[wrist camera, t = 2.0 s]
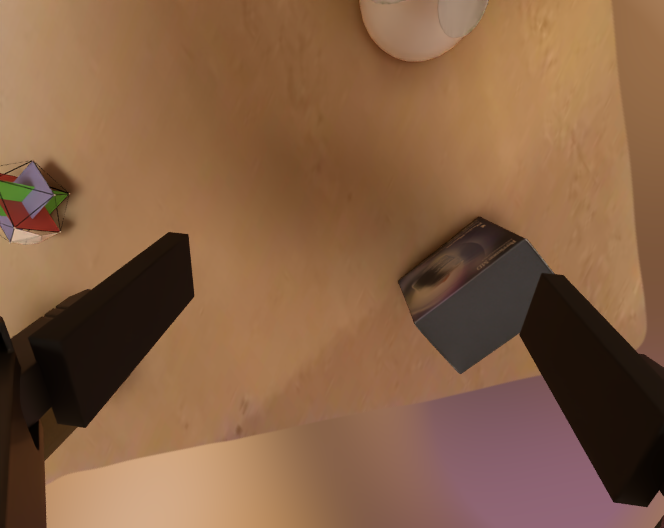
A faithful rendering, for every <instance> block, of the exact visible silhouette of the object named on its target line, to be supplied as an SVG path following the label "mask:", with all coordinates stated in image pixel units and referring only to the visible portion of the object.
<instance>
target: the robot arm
mask: <svg viewBox="0 0 664 528" xmlns="http://www.w3.org/2000/svg"><path fill="white" fill-rule="evenodd" d="M193 297H194V287H193V277H192V267H191V257H190V247H189V237H188V234H182V233H172V232H168V233H167V234H166V235H164V236H163V237H162V238H160V239H159V240H158V241H156V242H155V243H154V244H152V245H151V246H150V247H148V248H147V249H145V250H144V251H143V252H141V253H140V254H139V255H137V256H136V257H135V258H133V259H132V260H131V261H129V262H128V263H127V264H125V265H124V266H123V267H121V268H120V269H119V270H117V271H116V272H115V273H113V274H112V275H111V276H109V277H108V278H107V279H105V280H104V281H103V282H101V283H100V284H99V285H97V286H96V287H95V288H93V289H92V290H90V289H87V290H84V291H82V292H80V293H77V294H75V295H73V296H70V297H68V298H67V299H66V300H64V301H63V302H61V303H60V304H59V305H57V306H56V308H55V309H54V308H53V309H52V310H50V311H49V312H48V313H46V314H45V316H44V317H41V318H39V319H38V320H36V321H35V322H34V323H32V324H31V325H29V326H28V327H27V328H25V329H24V330H22V331H21V332H20V333H18V334H17V335H15V336H14V337H13V338H11V339H10V336H9V334H8V331H7V328H6V325H5V323H4V320H3V318H2V317H1V316H0V528H46V497H45V465H44V434H43V426H42V423H41V421H40V418H41V417H42V416H43V415H44V414H45V413H46V412H47V411H48V410H49V409H50V408H51V407H52V410H53V413H54V416H55V419H56V421H57V424H62V425H69V426H76V427H83V428H86V427H87V426H88V424H89V423H90V422H91V421H92V419H93V418H94V417H95V416H96V415H97V413H98V412H99V411H100V410H101V409H102V407H103V406H104V405H105V404H106V403H107V401H108V400H109V399H110V398H111V397H112V395H113V394H114V393H115V392H116V390H117V389H118V388H119V387H120V386H121V384H122V383H123V382H124V381H125V380H126V378H127V377H128V376H129V375H130V374H131V372H132V371H133V370H134V369H135V368H136V366H137V365H138V364H139V363H140V361H141V360H142V359H143V358H144V357H145V355H146V354H147V353H148V352H149V351H150V349H151V348H152V347H153V346H154V345H155V343H156V342H157V341H158V340H159V339H160V337H161V336H162V335H163V334H164V332H165V331H166V330H167V329H168V328H169V326H170V325H171V324H172V323H173V322H174V320H175V319H176V318H177V317H178V316H179V314H180V313H181V312H182V311H183V310H184V308H185V307H186V306H187V305H188V303H189V302H190V301H191V300H192V299H193ZM519 335H520V337H521V339H522V340H523V342H524V344H525V346H526V348H527V349H528V351H529V353H530V355H531V356H532V358H533V360H534V362H535V364H536V365H537V367H538V369H539V371H540V372H541V374H542V376H543V378H544V380H545V381H546V383H547V385H548V386H549V388H550V390H551V392H552V393H553V395H554V397H555V399H556V401H557V403H558V404H559V406H560V408H561V410H562V412H563V413H564V415H565V417H566V419H567V420H568V422H569V424H570V425H571V428H572V429H573V431H574V433H575V435H576V436H577V438H578V440H579V442H580V444H581V445H582V447H583V449H584V451H585V452H586V454H587V456H588V457H589V459H590V461H591V463H592V465H593V467H594V468H595V470H596V472H597V474H598V475H599V477H600V479H601V481H602V482H603V484H604V486H605V488H606V490H607V491H608V493H609V495H610V497H611V499H612V500H613V502H615V503H622V504H629V505H636V506H643V507H648V505H649V504H650V502H651V501H652V499H653V498H654V497H655V495H656V494H657V493H658V491H659V490H660V492H661V493H662V495H663V496H664V367H662V366H660V365H659V364H658V363H656V362H655V361H653V360H652V359H650V358H649V357H647V356H646V355H644V354H638V353H637V352H636V351H635V350H634V349H633V347H632V346H631V345H630V344H629V343H628V342H627V341H626V340H625V339H624V338H623V337H622V336H621V335H620V334H619V333H618V332H617V331H616V330H615V329H614V328H613V327H612V326H611V324H610V323H609V322H608V321H607V320H606V319H605V318H604V317H603V316H602V315H601V314H600V313H599V312H598V311H597V310H596V309H595V308H594V307H593V306H592V305H591V304H590V303H589V301H588V300H587V299H586V298H585V297H584V296H583V295H582V294H581V293H580V292H579V291H578V290H577V289H576V288H575V287H574V286H573V285H572V284H571V283H570V282H569V281H568V280H567V278H566V277H565V276H564V275H558V274H548V273H541V275H540V278H539V281H538V284H537V287H536V290H535V292H534V295H533V298H532V301H531V304H530V306H529V309H528V312H527V315H526V318H525V320H524V323H523V326H522V329H521V332H520V334H519ZM655 528H664V516H663V517H662V518H661V520H660V521H659V522H658V524H657V525H656V526H655Z"/></svg>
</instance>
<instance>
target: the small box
mask: <svg viewBox="0 0 664 528" xmlns="http://www.w3.org/2000/svg"><path fill="white" fill-rule="evenodd" d="M541 273H548V274H554V272H553V271H552V270H551V269H550V268H549V266H548V265H547V264H546V262H545V261H544V260H543V259H542V257H541V256H540V255H539V254H538V252H537V251H536V250H535V248H534V247H533V246H532V245H531V243H530V242H529V241H528V240H527V239H525V238H523V237H521V236H518V235H516V234H515V233H513V232H510V231H508V230H506V229H504V228H502V227H500V226H498V225H496V224H494V223H492V222H489V221H487V220H485V219H483V218H482V217H478V218H477V219H476V220H474V221H473V222H472V223H471V224H469V225H468V226H467V227H466V228H464V229H463V230H462V231H461V232H459V233H458V234H457V235H456V236H454V237H453V238H452V239H451V240H449V241H448V242H447V243H445V244H444V245H443V246H442V247H440V248H439V249H438V250H437V251H435V252H434V253H433V254H432V255H430V256H429V257H428V258H427V259H425V260H424V261H423V262H422V263H420V264H419V265H418V266H417V267H415V268H414V269H413V270H411V271H410V272H409V273H408V274H406V275H405V276H404V277H403V278H401V279H400V280H399V281H398V283H399V285H400V287H401V290H402V293H403V295H404V297H405V300H406V302H407V305H408V308H409V310H410V313H411V316H412V318H413V321H414V324H415V325H416V327H417V328H418V329H419V330H420V331H421V333H422V334H423V335H424V336H425V337H426V338H427V339H428V340H429V342H430V343H431V344H432V345H433V346H434V347H435V348H436V349H437V350H438V351H439V352H440V354H441V355H442V356H443V357H444V358H445V359H446V360H447V361H448V362H449V363H450V364H451V365H452V367H453V368H454V369H455V370H456V371H457V372H458V373H459V374H462V373H463V372H465V371H466V370H467V369H469V368H470V367H472V366H473V365H475V364H476V363H477V362H479V361H480V360H482V359H483V358H485V357H486V356H487V355H489V354H490V353H492V352H493V351H495V350H496V349H497V348H499V347H500V346H502V345H503V344H505V343H506V342H507V341H509V340H510V339H512V338H513V337H515V336H516V335H517V334H519V333H520V332H521V329H522V326H523V323H524V320H525V318H526V315H527V312H528V309H529V306H530V304H531V301H532V298H533V295H534V292H535V290H536V287H537V284H538V281H539V278H540V275H541Z"/></svg>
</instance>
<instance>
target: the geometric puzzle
mask: <svg viewBox="0 0 664 528" xmlns="http://www.w3.org/2000/svg"><path fill="white" fill-rule="evenodd" d="M26 162H27V161H26ZM30 162H31V163H30ZM30 162H28V163H30V164H29V165H28V166H27V168H26V169H25V170H24V171H23V172H22V173H21V174H20V175H19V176H18V177H16V176H11V175H6V174H7V173H9V172H11V171H13V170H15V169H17V168H19V167H21V166H23V165H21V166H19V167H17V168H15V169H13V170H11V171H9V172H7V173H5V174H1V173H0V226H1V228H2V230H3V231H4V233H5V235H6V236H7V238H8V240H9V243H19V244H24V245H27V244H37V243H40V242H42V241H44V240H46V239H48V238H50V237H52V236H54V235H56V234H58V233H61V230H59V229H58V227H57V226H56V224H55V222H54V221H53V219H52V217H51V216H50V214H51V213H52V212H53V211H54V210H55V209H57V207H58V206H59V205H60V203H61V202H62V201H63V200H64V199H65V198H66V197H67V196H68V195H69V194H70V193H67V192H64V191H62V190H59V189H56V188H53V187H50V186H49V185H48V183H47V182H46V180H45V178H44V177H43V175H42V174H41V172H40V170H39V169H38V167H37V166H36V164H35V163H34V160H32V161H30ZM20 163H21V162H20ZM28 163H26V164H28ZM13 164H15V163H13ZM26 164H24V165H26ZM7 165H9V164H7ZM1 166H3V165H1ZM38 166H39V165H38ZM39 167H40V166H39ZM40 168H41V167H40ZM41 169H42V168H41ZM42 170H43V169H42ZM43 171H44V170H43ZM49 176H50V175H49ZM50 177H51V176H50ZM51 178H52V177H51ZM52 179H53V178H52ZM53 180H54V179H53ZM60 186H61V185H60ZM61 187H62V186H61ZM51 188H53V189H56V190H59V191H62V192H59V191H53V190H51ZM62 188H63V187H62ZM63 189H64V188H63ZM64 190H65V189H64ZM68 198H69V196H68ZM67 202H68V201H67ZM66 206H67V205H66ZM65 211H66V210H65ZM57 215H58V211H57ZM64 215H65V214H64ZM63 219H64V218H63ZM58 221H59V217H58ZM62 224H63V223H62ZM59 227H60V224H59ZM61 228H62V227H61ZM23 229H27V230H28V231H29V230H39V231H50V232H58V233H53V234H47V235H39V234H35V233H31V232H28V231H23ZM1 237H2V236H1ZM4 239H5V238H4ZM8 240H7V241H8Z"/></svg>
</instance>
